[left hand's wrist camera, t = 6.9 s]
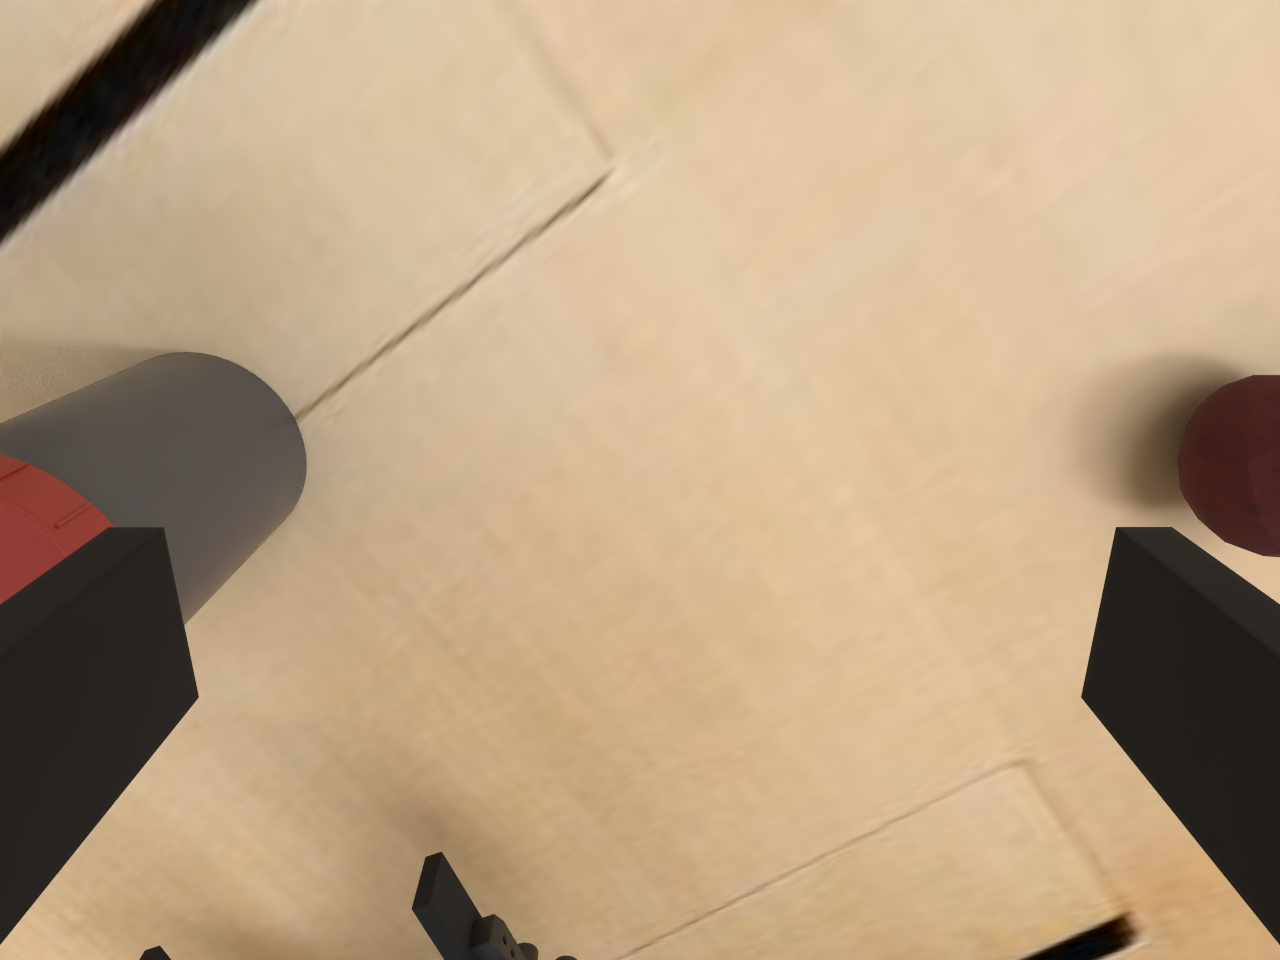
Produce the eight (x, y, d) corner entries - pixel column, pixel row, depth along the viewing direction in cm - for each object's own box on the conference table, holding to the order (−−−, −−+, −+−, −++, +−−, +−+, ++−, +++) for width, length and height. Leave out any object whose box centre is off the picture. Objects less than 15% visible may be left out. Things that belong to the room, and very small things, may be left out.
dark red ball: (1181, 542, 43) (1280, 614, 36) (1117, 412, 40) (1210, 464, 34) (1332, 461, 41) (1464, 522, 35) (1274, 323, 39) (1404, 359, 32)
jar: (291, 565, 43) (99, 795, 28) (94, 516, 42) (-218, 726, 27) (321, 384, 40) (122, 532, 25) (108, 327, 39) (-236, 443, 24)
